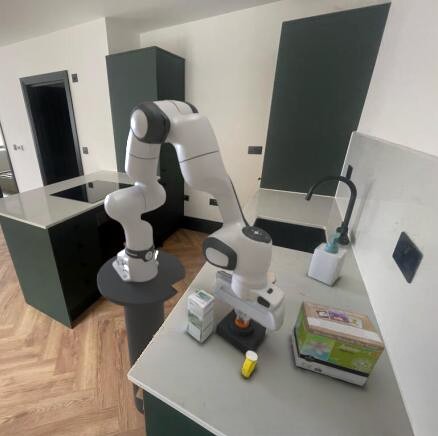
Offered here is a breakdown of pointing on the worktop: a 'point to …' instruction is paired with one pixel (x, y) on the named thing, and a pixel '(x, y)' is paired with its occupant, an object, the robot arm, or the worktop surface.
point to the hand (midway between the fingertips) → (242, 321)
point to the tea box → (336, 342)
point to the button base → (241, 333)
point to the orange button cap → (241, 324)
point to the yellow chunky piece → (249, 363)
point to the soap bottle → (327, 261)
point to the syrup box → (200, 314)
